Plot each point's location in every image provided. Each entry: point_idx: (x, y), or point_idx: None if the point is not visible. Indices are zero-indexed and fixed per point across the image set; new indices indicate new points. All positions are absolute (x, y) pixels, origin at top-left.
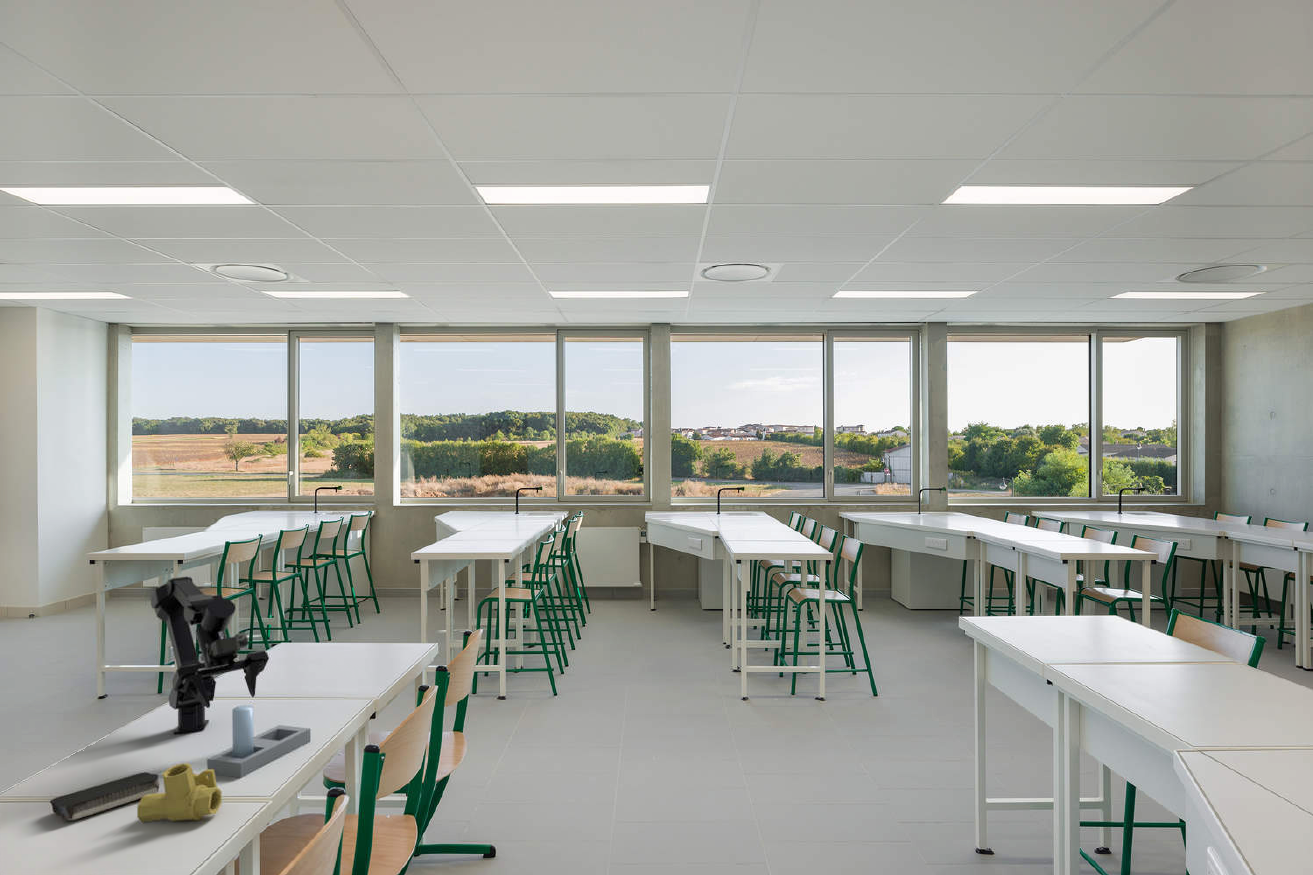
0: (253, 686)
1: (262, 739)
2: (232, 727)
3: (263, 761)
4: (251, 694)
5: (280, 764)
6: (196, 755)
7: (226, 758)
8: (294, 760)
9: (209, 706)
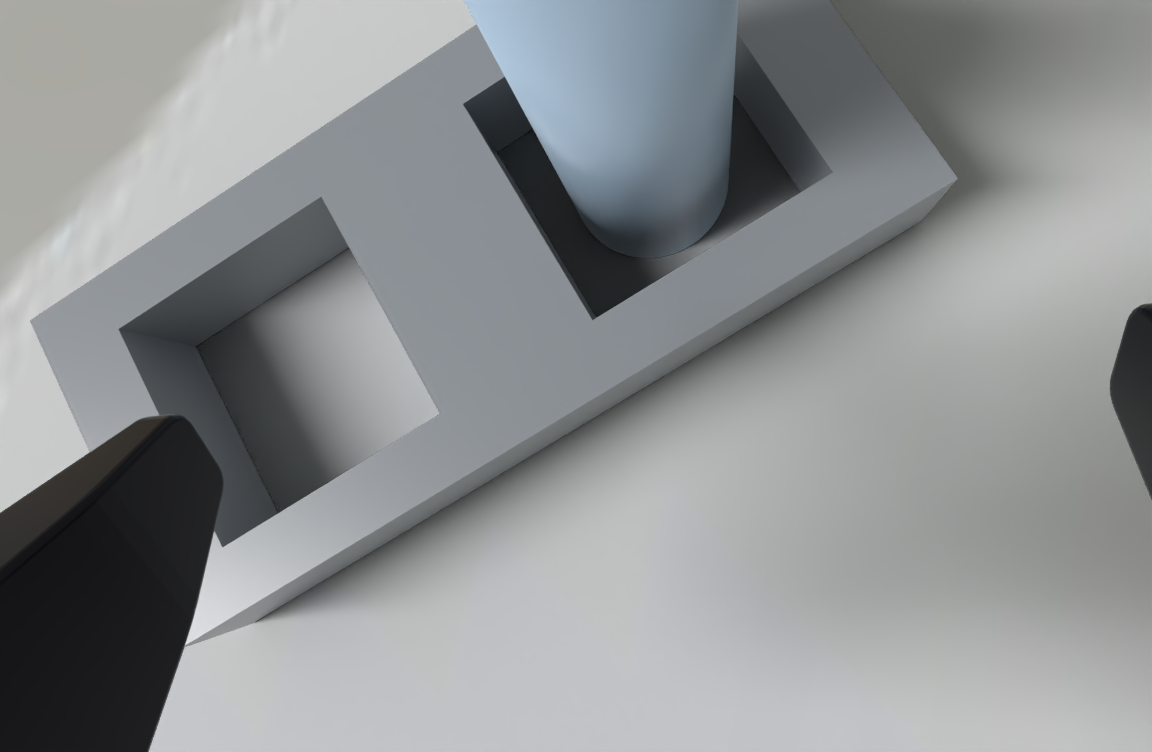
0: (14, 535)
1: (417, 343)
2: (736, 8)
3: None
4: (196, 511)
5: (430, 14)
6: (924, 748)
7: (802, 66)
8: (333, 25)
9: (1130, 333)
